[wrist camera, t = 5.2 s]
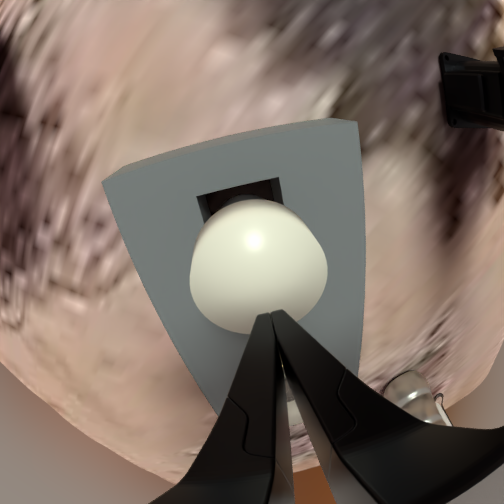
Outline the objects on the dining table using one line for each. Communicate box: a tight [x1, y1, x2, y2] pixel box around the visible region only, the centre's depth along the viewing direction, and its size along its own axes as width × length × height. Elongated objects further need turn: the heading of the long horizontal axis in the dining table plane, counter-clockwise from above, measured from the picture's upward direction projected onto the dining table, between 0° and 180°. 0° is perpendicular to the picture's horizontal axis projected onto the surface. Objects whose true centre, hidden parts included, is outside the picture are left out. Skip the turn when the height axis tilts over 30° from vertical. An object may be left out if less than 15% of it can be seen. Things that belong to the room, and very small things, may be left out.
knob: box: [190, 194, 328, 334], centre depth 13 cm, size 5×5×6 cm
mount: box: [102, 118, 366, 417], centre depth 21 cm, size 14×26×4 cm, turn 12°
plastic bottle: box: [384, 371, 447, 426], centre depth 25 cm, size 6×7×20 cm
